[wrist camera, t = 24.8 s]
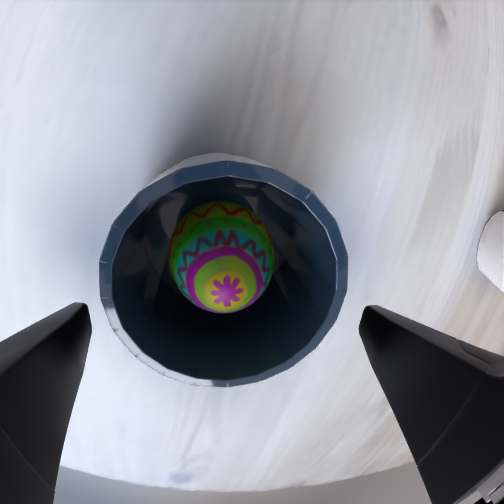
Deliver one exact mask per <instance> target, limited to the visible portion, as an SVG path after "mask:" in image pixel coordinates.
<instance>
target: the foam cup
mask: <svg viewBox="0 0 504 504" xmlns="http://www.w3.org/2000/svg"><path fill="white" fill-rule="evenodd" d="M477 261H478V268H479V269H480V271H481V272H482V273H483V274H484V275H486V277H487V278H488V279H490V280H491V281H492V282H493V283H494V284H495V285H496V286H497V287H498V288H499V289H500V290H501V291H503V292H504V212H503V211H499V212H497V213H496V214H494V215H493V216H491V218H490V220H489V221H488V223H487V224H486V226H485V227H484V230H483V232H482V235H481V238H480V241H479V245H478V253H477Z"/></svg>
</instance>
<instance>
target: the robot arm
mask: <svg viewBox="0 0 504 504" xmlns="http://www.w3.org/2000/svg"><path fill="white" fill-rule="evenodd" d="M91 334H92V325H91V320H90V315H89V310H88V306H87V305H86V304H85V303H77V302H75V303H72V304H70V305H69V306H67V307H65V308H63V309H61V310H59V311H57V312H55V313H53V314H51V315H49V316H47V317H46V318H44V319H42V320H40V321H38V322H36V323H34V324H32V325H31V326H29V327H27V328H25V329H23V330H21V331H20V332H18V333H16V334H14V335H12V336H10V337H9V338H7V339H5V340H3V341H1V342H0V504H53V500H54V494H55V491H54V490H55V486H56V480H57V475H58V469H59V464H60V459H61V454H62V450H63V445H64V441H65V436H66V432H67V428H68V424H69V420H70V417H71V413H72V409H73V405H74V402H75V398H76V395H77V392H78V388H79V385H80V382H81V378H82V375H83V371H84V367H85V362H86V357H87V352H88V347H89V343H90V338H91ZM359 334H360V336H361V339H362V342H363V344H364V347H365V350H366V352H367V355H368V358H369V361H370V363H371V366H372V368H373V370H374V373H375V375H376V377H377V379H378V381H379V383H380V385H381V387H382V389H383V391H384V393H385V395H386V397H387V400H388V402H389V404H390V406H391V408H392V410H393V412H394V415H395V417H396V419H397V421H398V423H399V426H400V428H401V430H402V432H403V435H404V437H405V439H406V441H407V444H408V446H409V448H410V451H411V453H412V455H413V458H414V460H415V462H416V465H418V466H417V467H418V470H419V472H420V475H421V477H422V480H423V482H424V485H425V487H426V490H427V492H428V495H429V497H430V500H431V502H432V504H458V503H460V502H461V501H463V500H464V499H466V498H467V497H469V496H470V495H471V494H473V493H474V492H476V491H477V490H478V491H479V492H480V494H481V495H482V498H481V499H480V500H478V501H477V502H476V503H474V504H504V356H501V355H498V354H495V353H492V352H489V351H487V350H484V349H481V348H479V347H476V346H474V345H471V344H469V343H466V342H464V341H461V340H459V339H458V340H457V339H456V338H454V337H452V336H449V335H447V334H444V333H442V332H440V331H437V330H435V329H433V328H430V327H428V326H425V325H423V324H421V323H418V322H416V321H413V320H411V319H409V318H406V317H404V316H401V315H399V314H397V313H394V312H392V311H390V310H387V309H385V308H382V307H380V306H378V305H369V306H366V307H365V308H364V311H363V314H362V318H361V321H360V324H359Z"/></svg>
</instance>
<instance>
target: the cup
mask: <svg viewBox="0 0 504 504" xmlns="http://www.w3.org/2000/svg"><path fill="white" fill-rule="evenodd" d="M217 200H224V201H231V202H235V203H238V204H241V205H243V206H245V207H247V208H248V209H250V210H251V211H253V212H254V213H255V214H256V215H257V216H258V217H259V218H260V219H261V220H262V221H263V223H264V224H265V226H266V227H267V229H268V231H269V233H270V236H271V238H272V242H273V246H274V254H275V260H274V269H273V273H272V277H271V279H270V282H269V284H268V286H267V288H266V289H265V291H264V292H263V294H262V295H261V296H260V297H259V298H258V299H257V300H256V301H255V302H254V303H252V304H251V305H249V306H248V307H246V308H244V309H242V310H239V311H236V312H232V313H214V312H210V311H207V310H204V309H202V308H200V307H198V306H196V305H194V304H193V303H192V302H190V301H189V300H188V299H187V298H186V297H185V296H184V295H183V294H182V292H181V291H180V290H179V288H178V287H177V285H176V283H175V281H174V279H173V277H172V274H171V270H170V266H169V257H168V253H169V244H170V240H171V236H172V234H173V231H174V229H175V227H176V226H177V224H178V223H179V221H180V220H181V219H182V218H183V217H184V215H185V214H187V213H188V212H189V211H190V210H192V209H193V208H195V207H197V206H199V205H201V204H203V203H206V202H210V201H217ZM347 255H348V254H347V251H346V247H345V244H344V241H343V238H342V235H341V233H340V230H339V227H338V224H337V222H336V220H335V218H334V217H333V216H332V214H331V213H330V212H329V211H328V210H327V208H326V207H325V206H324V205H323V203H322V202H321V201H320V200H319V199H318V197H317V196H316V195H315V194H314V192H313V191H311V190H310V189H309V188H307V187H306V186H304V185H302V184H301V183H299V182H297V181H295V180H294V179H292V178H290V177H289V176H287V175H285V174H283V173H282V172H280V171H278V170H276V169H274V168H272V167H269V166H267V165H264V164H262V163H260V162H257V161H254V160H252V159H249V158H247V157H243V156H238V155H233V154H226V153H220V152H219V153H218V152H217V153H209V154H202V155H198V156H192V157H189V158H187V159H185V160H183V161H181V162H179V163H177V164H176V165H174V166H172V167H170V168H168V169H167V170H165V171H164V172H163V173H161V174H160V175H159V176H158V177H156V178H155V179H154V180H153V181H151V182H150V183H149V184H148V185H146V186H145V187H144V188H143V189H142V190H140V191H139V192H138V193H137V195H136V196H135V197H134V198H133V199H132V200H131V201H130V203H129V204H128V205H127V206H126V207H125V208H124V210H123V211H122V212H121V213H120V214H119V216H118V217H117V218H116V219H115V220H114V222H113V224H112V225H111V228H110V231H109V234H108V236H107V239H106V242H105V245H104V248H103V250H102V253H101V256H100V261H99V286H100V297H101V302H102V304H103V307H104V310H105V312H106V315H107V317H108V320H109V322H110V325H111V327H112V329H113V331H114V332H115V334H116V335H117V336H118V337H119V339H120V340H121V341H122V342H123V343H124V345H125V346H126V347H127V348H128V349H129V351H130V352H131V353H132V354H133V355H134V356H135V357H136V358H137V359H139V360H140V361H142V362H143V363H145V364H146V365H148V366H149V367H151V368H152V369H154V370H156V371H157V372H159V373H160V374H163V375H164V376H167V377H170V378H173V379H176V380H179V381H182V382H185V383H188V384H192V385H194V384H195V385H197V386H211V387H233V386H239V385H245V384H250V383H256V382H260V381H263V380H265V379H267V378H270V377H272V376H274V375H276V374H279V373H281V372H283V371H285V370H288V369H289V368H291V367H293V366H294V365H295V364H297V363H298V362H299V361H300V360H302V359H303V358H304V357H305V356H307V355H308V354H309V353H310V352H312V351H313V350H314V349H315V348H316V347H317V346H318V345H319V344H320V342H321V341H322V340H323V338H324V337H325V336H326V334H327V333H328V331H329V330H330V329H331V327H332V326H333V325H334V323H335V321H336V320H337V317H338V315H339V312H340V309H341V306H342V304H343V301H344V298H345V295H346V292H347V282H348V256H347Z"/></svg>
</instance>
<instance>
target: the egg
mask: <svg viewBox="0 0 504 504" xmlns="http://www.w3.org/2000/svg"><path fill="white" fill-rule="evenodd" d="M168 257H169V266H170V270H171V274H172V277H173V279H174V281H175V283H176V285H177V287H178V288H179V290H180V291H181V292H182V294H183V295H184V296H185V297H186V298H187V299H188V300H189V301H190V302H192V303H193V304H194V305H196V306H198V307H200V308H202V309H204V310H207V311H210V312H214V313H232V312H236V311H239V310H242V309H244V308H246V307H248V306H249V305H251V304H252V303H254V302H255V301H256V300H257V299H258V298H259V297H260V296H261V295H262V294H263V292H264V291H265V289H266V288H267V286H268V284H269V282H270V279H271V277H272V273H273V269H274V260H275V254H274V246H273V242H272V238H271V236H270V233H269V231H268V229H267V227H266V226H265V224H264V223H263V221H262V220H261V219H260V218H259V217H258V216H257V215H256V214H255V213H254V212H253V211H251V210H250V209H248V208H247V207H245V206H243V205H241V204H238V203H235V202H231V201H224V200H217V201H210V202H206V203H203V204H201V205H199V206H197V207H195V208H193V209H192V210H190V211H189V212H188V213H187V214H185V215H184V217H183V218H182V219H181V220H180V221H179V223H178V224H177V226H176V227H175V229H174V231H173V234H172V236H171V240H170V244H169V253H168Z"/></svg>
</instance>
